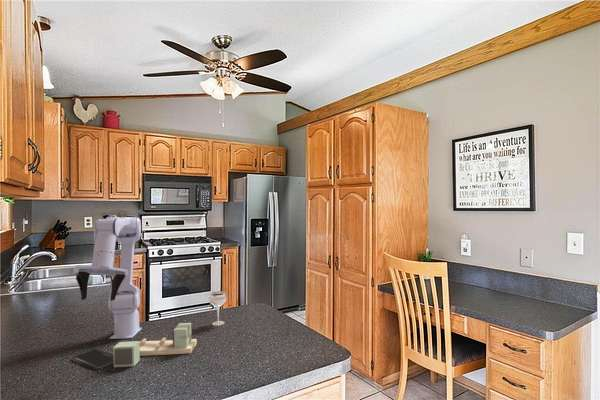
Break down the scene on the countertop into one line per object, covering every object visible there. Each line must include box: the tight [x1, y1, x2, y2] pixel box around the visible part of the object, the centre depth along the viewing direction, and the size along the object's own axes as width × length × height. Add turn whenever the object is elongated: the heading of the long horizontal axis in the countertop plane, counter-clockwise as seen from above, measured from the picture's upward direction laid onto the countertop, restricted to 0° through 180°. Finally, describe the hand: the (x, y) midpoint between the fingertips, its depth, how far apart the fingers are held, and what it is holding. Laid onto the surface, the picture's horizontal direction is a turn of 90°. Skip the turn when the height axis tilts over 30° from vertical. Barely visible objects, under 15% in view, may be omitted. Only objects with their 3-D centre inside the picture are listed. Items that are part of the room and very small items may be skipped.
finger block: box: [112, 340, 141, 368], centre depth 106 cm, size 5×6×6 cm
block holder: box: [139, 322, 198, 357], centre depth 116 cm, size 8×20×8 cm, turn 93°
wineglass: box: [208, 290, 227, 326], centre depth 139 cm, size 7×7×12 cm
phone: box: [71, 348, 114, 371], centre depth 109 cm, size 8×1×15 cm
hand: (98, 299), depth 101 cm, fingers open, 7 cm apart
